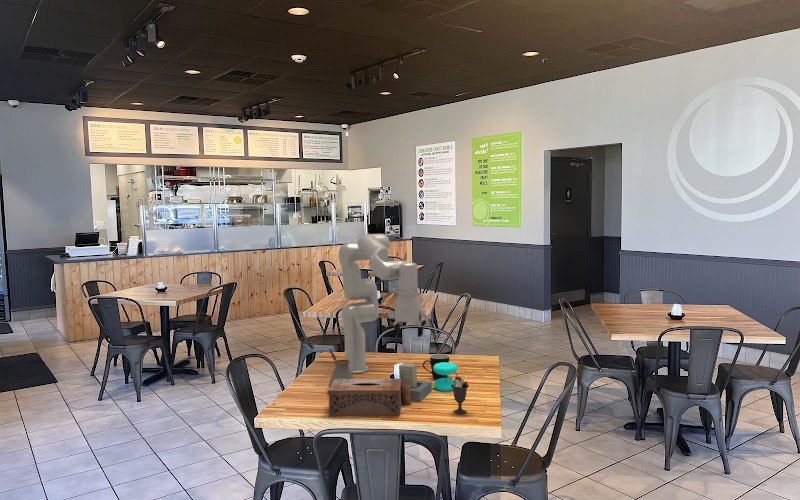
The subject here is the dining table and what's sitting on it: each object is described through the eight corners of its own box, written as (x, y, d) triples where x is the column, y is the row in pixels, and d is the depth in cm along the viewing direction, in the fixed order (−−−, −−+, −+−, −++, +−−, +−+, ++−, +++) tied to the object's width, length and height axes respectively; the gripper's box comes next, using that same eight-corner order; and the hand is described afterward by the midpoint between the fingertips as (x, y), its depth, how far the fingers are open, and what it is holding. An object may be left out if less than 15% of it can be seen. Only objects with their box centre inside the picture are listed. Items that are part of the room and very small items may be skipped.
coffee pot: (360, 393, 241) (359, 357, 240) (333, 398, 236) (332, 361, 235) (342, 380, 260) (341, 346, 259) (317, 384, 255) (316, 349, 254)
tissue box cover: (401, 404, 228) (400, 378, 228) (399, 417, 214) (399, 390, 213) (335, 404, 229) (334, 378, 229) (329, 417, 215) (328, 390, 214)
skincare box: (417, 393, 240) (417, 363, 240) (414, 396, 236) (413, 366, 235) (402, 391, 243) (402, 362, 242) (399, 395, 239) (398, 365, 238)
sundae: (449, 409, 221) (449, 370, 220) (467, 408, 221) (466, 369, 220) (452, 415, 214) (452, 375, 213) (470, 414, 215) (470, 374, 214)
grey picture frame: (386, 397, 235) (386, 387, 235) (400, 387, 248) (400, 378, 248) (419, 401, 230) (419, 391, 230) (431, 391, 243) (431, 381, 243)
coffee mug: (449, 375, 265) (449, 353, 264) (449, 381, 256) (449, 358, 256) (423, 375, 266) (423, 353, 265) (422, 381, 257) (422, 358, 257)
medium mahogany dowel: (399, 405, 226) (399, 385, 226) (403, 402, 230) (403, 383, 229) (408, 406, 225) (408, 386, 225) (412, 403, 228) (411, 384, 228)
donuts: (459, 362, 249) (453, 368, 240) (459, 385, 250) (453, 392, 241) (437, 360, 253) (430, 366, 243) (437, 383, 253) (430, 390, 244)
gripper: (384, 293, 236) (385, 335, 237) (425, 295, 230) (425, 339, 231) (392, 291, 243) (392, 332, 244) (431, 293, 237) (432, 335, 238)
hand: (408, 335), depth 238 cm, fingers open, 9 cm apart
